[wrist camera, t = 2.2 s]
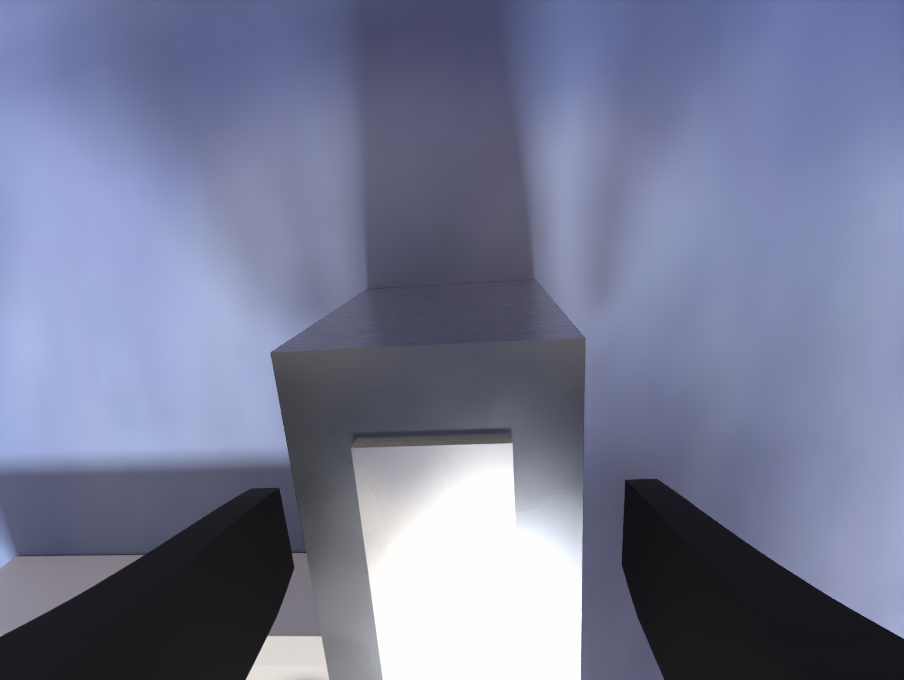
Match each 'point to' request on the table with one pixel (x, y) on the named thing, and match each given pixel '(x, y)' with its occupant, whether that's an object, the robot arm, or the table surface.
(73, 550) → the table surface
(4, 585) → the tray
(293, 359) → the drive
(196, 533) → the robot arm
